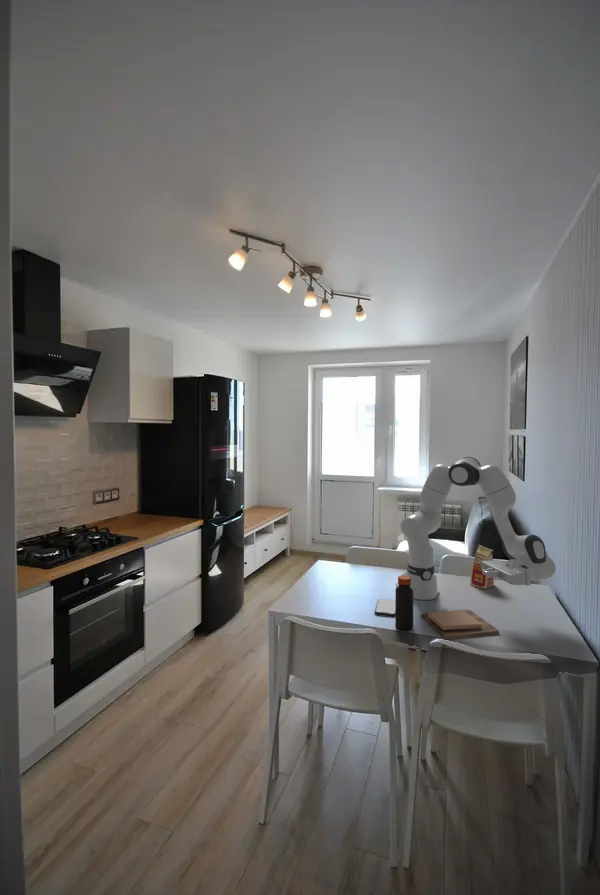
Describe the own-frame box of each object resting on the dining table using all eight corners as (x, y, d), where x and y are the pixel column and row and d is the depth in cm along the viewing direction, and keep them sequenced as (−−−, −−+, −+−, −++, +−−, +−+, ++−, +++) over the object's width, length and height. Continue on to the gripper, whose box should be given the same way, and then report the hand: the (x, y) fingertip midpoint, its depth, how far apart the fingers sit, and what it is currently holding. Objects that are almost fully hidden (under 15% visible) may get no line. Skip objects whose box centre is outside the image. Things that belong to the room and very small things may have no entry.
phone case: (378, 601, 195) (374, 615, 179) (378, 598, 195) (374, 611, 179) (397, 603, 192) (395, 618, 177) (397, 600, 192) (395, 614, 177)
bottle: (410, 623, 171) (410, 574, 170) (415, 631, 164) (415, 580, 164) (393, 623, 171) (393, 574, 170) (397, 631, 164) (398, 580, 163)
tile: (463, 615, 176) (428, 616, 173) (464, 611, 176) (428, 612, 173) (481, 628, 164) (443, 630, 161) (481, 624, 164) (443, 625, 161)
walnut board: (420, 616, 178) (420, 613, 178) (468, 611, 182) (468, 609, 182) (445, 639, 158) (445, 636, 158) (499, 633, 162) (499, 630, 162)
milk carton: (470, 585, 213) (470, 545, 212) (478, 580, 219) (479, 542, 218) (488, 590, 206) (488, 549, 206) (496, 585, 213) (497, 545, 212)
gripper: (499, 555, 182) (469, 557, 180) (533, 570, 162) (500, 573, 160) (499, 570, 182) (469, 572, 180) (533, 586, 162) (500, 589, 160)
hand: (484, 573), depth 170 cm, fingers closed
